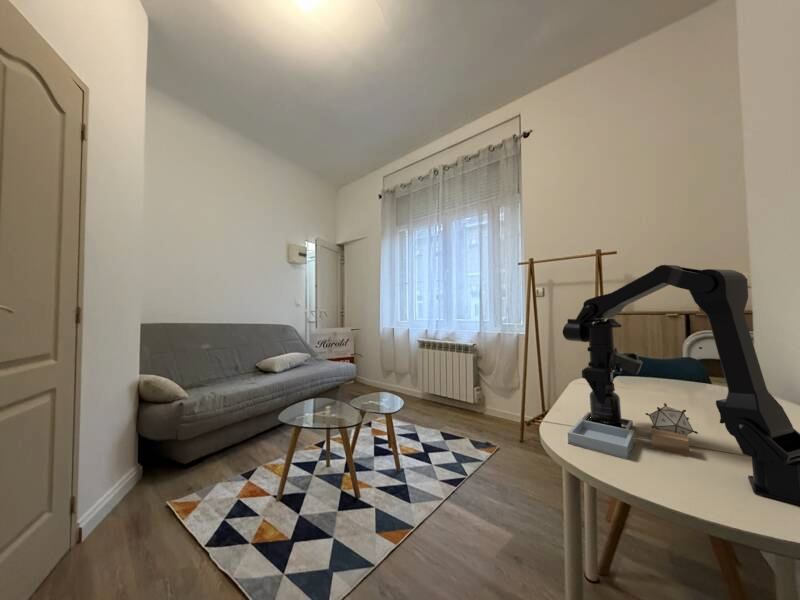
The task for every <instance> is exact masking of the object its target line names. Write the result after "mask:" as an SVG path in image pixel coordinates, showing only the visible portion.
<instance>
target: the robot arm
mask: <svg viewBox="0 0 800 600" xmlns="http://www.w3.org/2000/svg"><path fill="white" fill-rule="evenodd" d="M748 285H749V284H748V279H747V277H746V276H745V275H744V274H743V273H742V272H739V271H737V270H734V269H733V270H732V269H724V268H723V269H719V268H717V269H715V268H708V269H707V268H706V269H695V268H691V267H689V268H688V267H684V266H681V265H676V264H661V265H657V266H655V268H654V269H652V270H650V271H649V272H647V273H646V274H644V275H642V276H640V277H637V278H636V279H634V280H632V281H631V282H629V283H627V284H625V285H624V286H621V287H620V288H619V287H618V289H616V290H614V291H612V292H609V293H605V294H601V295H597V296H595V297H591V298H588V299H586V300H585V301H584V302H583V304H582V308H581V310H580V311H579V313H578V314H577V317H575V318H568V319H566V320H567V323H565V324H564V326H563V329H562V335H563V338H564V339H565V340H566V341H571V342H580V343H588V344H589V345H588V347H587V352H589V361H588V363H587V364H588V366H586V367H585V368H583V369H582V370H581V378H582V379H585V381H586V382H587V384H588V386H589V387H590V389H591V392H592V391H593V392H594V394H595V396H596V398H597V400H598V401H599V403H600V404H605V399H606V392H607V385H608V384H610V383H611V382H612V383H614V381H615V378H617V377H618V376H619V375H621V372H622V370H624V371H626V372H629V373H630V374H632V375H635V376H636V375H638V374H639V372H640V370H641V368H642V366H643V363H644V361H642V360H641V359H639V356H638V354H637V353H634V352H630V353H628V354H627V355H626V354H622V353H619V352H618V348H616V346H615V340H614V338H615V337H614V329H616V328H619V329H620V328H622V324H620V323H619V322H617V321H616V320H615V319H614V317H616V316H617V315H618V314H620V313H621V312H622V311H623V310H624V309H625V307H627V306H628V305H630V304H633V303H634V302H636V301H638V300H640V299H643V298H645V297H646V296H648V295H651V294H652V293H653V294H654V293H655V292H658V291H659V290H661V289H663V288H666V287H668V286H672V287H675V288H679V289H682V290H687V291H689V293H690V295H691V297H692V300H693V301H694V304H696V305H697V307H698V308H699V309H701V311H702V312H703V313H704V314H705V315H706V316H707V319H708V322H709V324H710V328H711V332H712V337H713V340H714V342H715V343H714V344H715V347H716V350H717V353H718V354H717V355H718V356H719V360H720V361H719V362H720V365H721V368H722V372H723V376H724V380H725V383H726V386H727V390H728V391H727V396H726V397H725V398H723V399H717V400H715V405H716V408H717V410H718V412H719V414H720V415H719V416H720V417H719V418H720V419H719V424H724V426H725V429H726V431H727V432H728V434H730V436H733V437H734V439H735V441H736V443H737V445H738V446H739V448H740V451H741V452H742V454H743V455H746V456H748V457H751V462H752V463H751V464H752V465H751V467H752V475H748V476H747V479H748V481H749V485H750V487H751V490H752V492H753V493H754V494H756V495H760V496H763V497H765V498H766V497H767V498H770V499H774V500H779V501H782V502H786V503H788V504H789V503H790V504H794V505H796V506H797V505H798V506H800V432H798V431H797V430H796V429H795V428H794V427H793V426H794V425H793V424H792V421H791V420H790V418H789V416H788V415H787V413H786V411H785V410H784V407H783V406H782V405H781V404H780V403H779V402H778V400H776V399H775V397H774V396H773V395H772V394H771V392H769V390H768V388H767V385H766V382H765V378H764V375H763V372H762V369H761V365H760V362H759V359H758V355H757V352H756V349H755V346H754V345H755V344H754V342H753V339H752V336H751V333H750V328H749V326H748V323H747V320H746V316H745V310H746V307H747V304H748V300H749V287H748ZM615 370H617V371H615Z"/></svg>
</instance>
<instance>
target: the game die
mask: <svg viewBox="0 0 800 600" xmlns="http://www.w3.org/2000/svg"><path fill="white" fill-rule="evenodd" d="M656 409H657V410H655V411H653V412H651V413H650V414H649V413H648V412H646V413H645V415H646V416H649V420H650V421H651V423H652V425H651V429H657V430H662V431H667V432H673V433H678V434H684V435H687V436H688V435H690V434H693V433H694V434H696V435H697V434H699V432H698V431H696V430H694V429H693V427H692V425H691V423H690V421H689V419H690V418H689V417H688V416H686V414H685V413H686V412H687V409H683V410H682V411H681V410H679V409H676V408H673V407H669V406H668V404H667V403H665V402H664V403H663V407H660V406H656Z"/></svg>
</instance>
